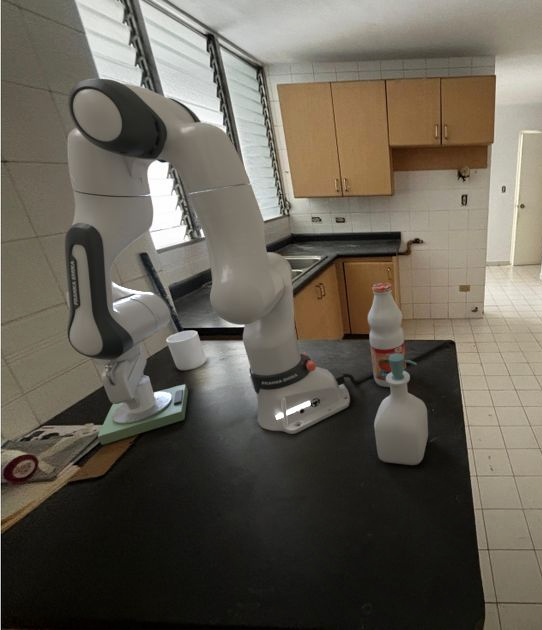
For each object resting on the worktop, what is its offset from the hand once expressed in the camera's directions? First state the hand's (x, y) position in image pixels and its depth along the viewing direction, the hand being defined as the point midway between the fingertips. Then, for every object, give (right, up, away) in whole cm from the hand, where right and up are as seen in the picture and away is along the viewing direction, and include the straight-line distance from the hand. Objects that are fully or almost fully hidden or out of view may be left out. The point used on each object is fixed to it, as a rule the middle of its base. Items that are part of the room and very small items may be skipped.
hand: (139, 397), depth 83 cm
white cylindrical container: (0, -2, +1) cm, 3 cm away
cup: (-6, +5, +27) cm, 28 cm away
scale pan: (0, -3, +1) cm, 3 cm away
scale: (+1, -5, +2) cm, 6 cm away
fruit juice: (+61, +2, +13) cm, 63 cm away
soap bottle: (+66, -8, -12) cm, 68 cm away
